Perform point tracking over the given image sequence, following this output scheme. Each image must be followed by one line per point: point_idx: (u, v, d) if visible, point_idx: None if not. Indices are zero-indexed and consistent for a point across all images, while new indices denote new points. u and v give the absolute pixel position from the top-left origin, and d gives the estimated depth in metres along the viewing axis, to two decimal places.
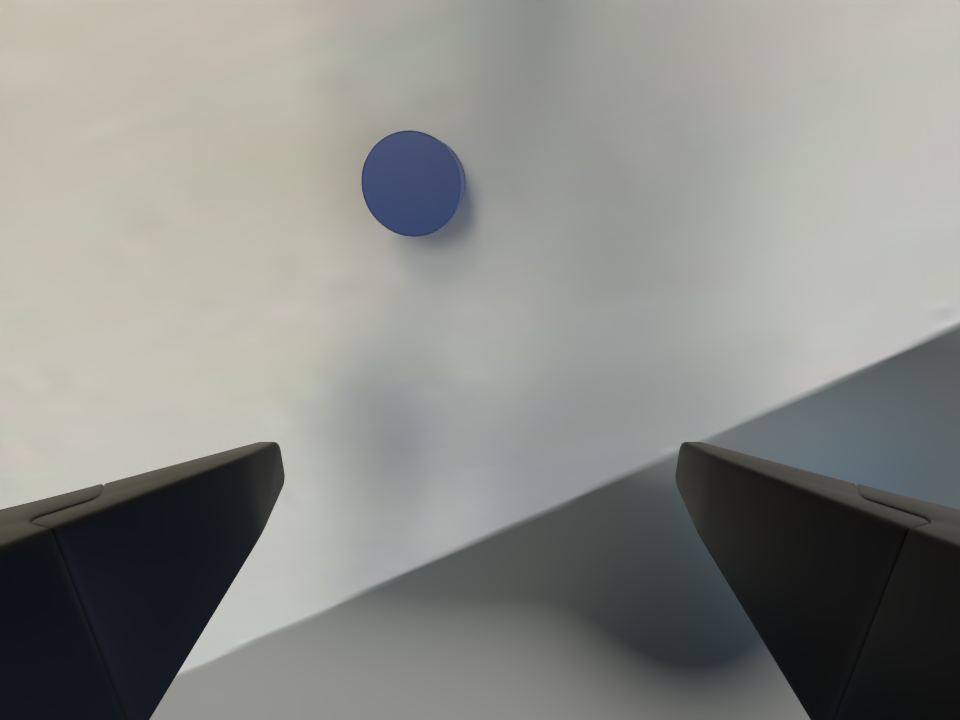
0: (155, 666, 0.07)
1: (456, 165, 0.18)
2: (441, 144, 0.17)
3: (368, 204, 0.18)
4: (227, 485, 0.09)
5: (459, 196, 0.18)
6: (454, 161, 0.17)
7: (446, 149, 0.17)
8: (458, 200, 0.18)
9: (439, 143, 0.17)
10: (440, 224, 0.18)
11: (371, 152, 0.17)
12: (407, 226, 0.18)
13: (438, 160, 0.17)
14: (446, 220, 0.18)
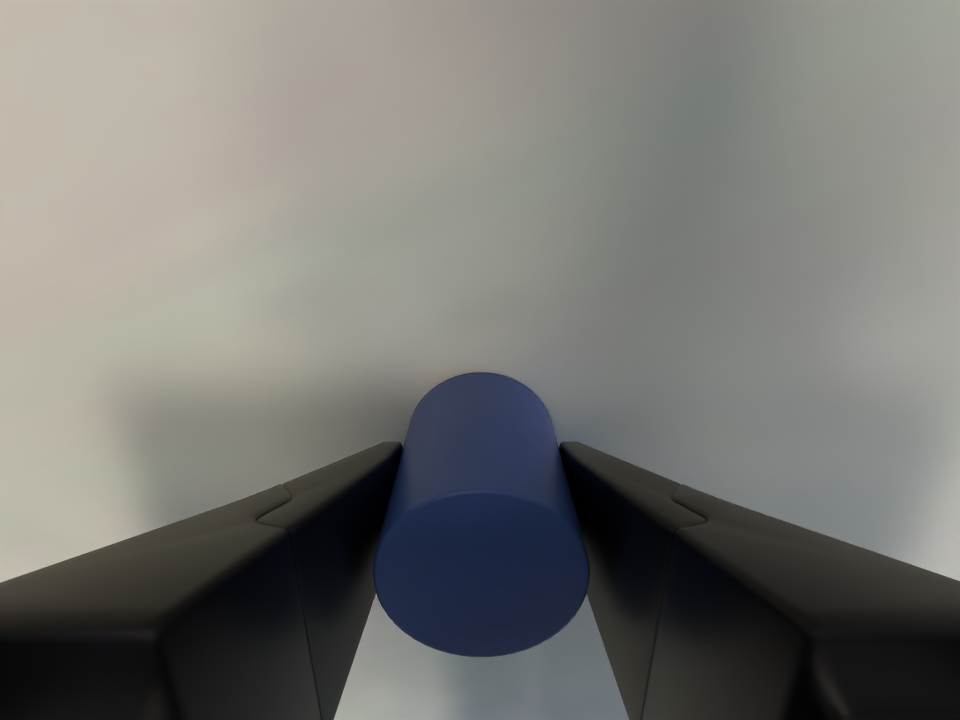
0: (338, 666, 0.08)
1: (578, 537, 0.08)
2: (544, 508, 0.08)
3: (392, 618, 0.08)
4: (379, 485, 0.09)
5: (586, 589, 0.08)
6: (574, 534, 0.08)
7: (555, 514, 0.08)
8: (584, 595, 0.08)
9: (539, 507, 0.08)
10: (546, 635, 0.09)
11: (389, 535, 0.08)
12: (477, 644, 0.09)
13: (538, 535, 0.08)
14: (559, 630, 0.09)
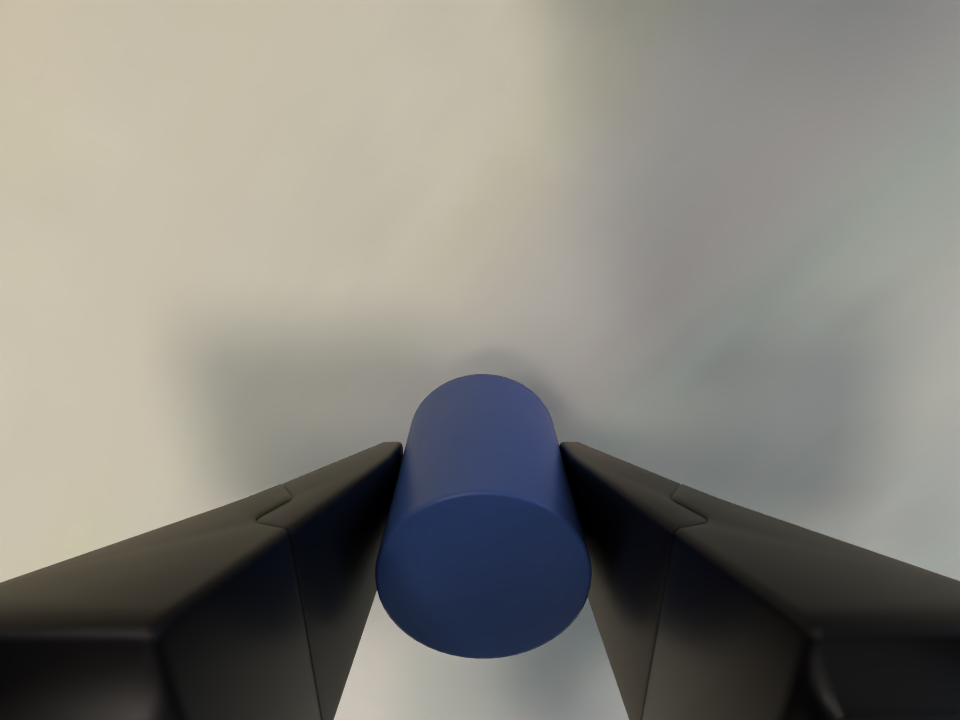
0: (338, 666, 0.08)
1: (579, 539, 0.08)
2: (546, 510, 0.08)
3: (394, 620, 0.08)
4: (379, 485, 0.09)
5: (587, 590, 0.08)
6: (576, 536, 0.08)
7: (557, 516, 0.08)
8: (585, 596, 0.08)
9: (541, 509, 0.08)
10: (548, 636, 0.09)
11: (391, 537, 0.08)
12: (478, 645, 0.09)
13: (540, 537, 0.08)
14: (561, 631, 0.09)
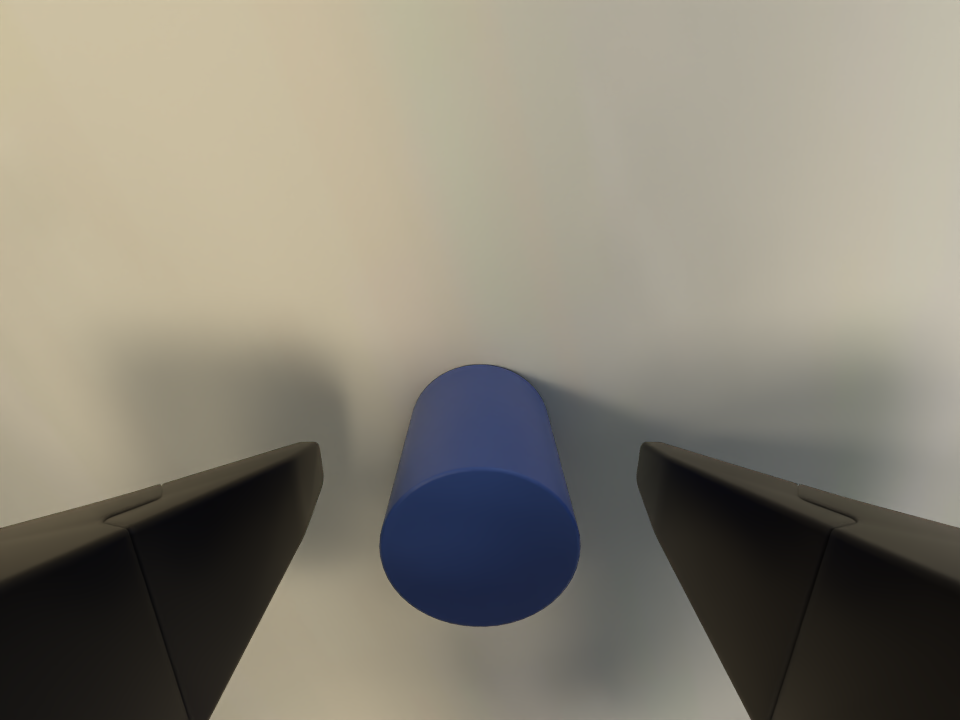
0: (214, 666, 0.07)
1: (569, 513, 0.09)
2: (537, 485, 0.08)
3: (397, 589, 0.09)
4: (276, 485, 0.09)
5: (577, 561, 0.09)
6: (565, 510, 0.08)
7: (547, 491, 0.08)
8: (575, 567, 0.09)
9: (533, 484, 0.08)
10: (540, 605, 0.09)
11: (394, 510, 0.08)
12: (476, 614, 0.09)
13: (532, 510, 0.08)
14: (552, 600, 0.09)
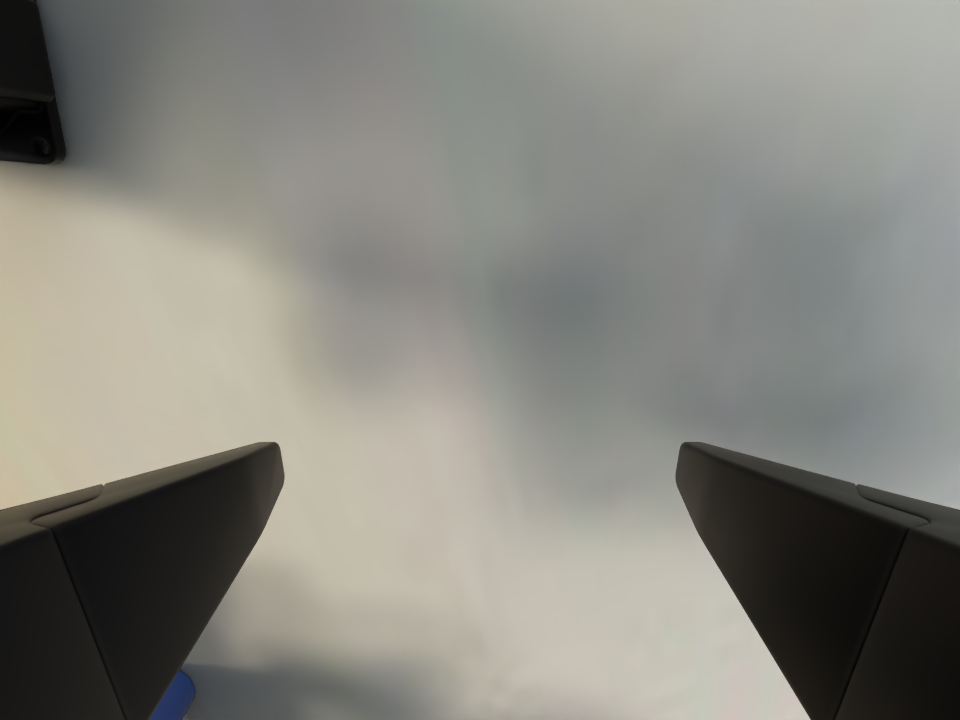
0: (155, 666, 0.08)
1: None
2: None
3: None
4: (227, 485, 0.09)
5: None
6: None
7: None
8: None
9: None
10: None
11: None
12: None
13: None
14: None
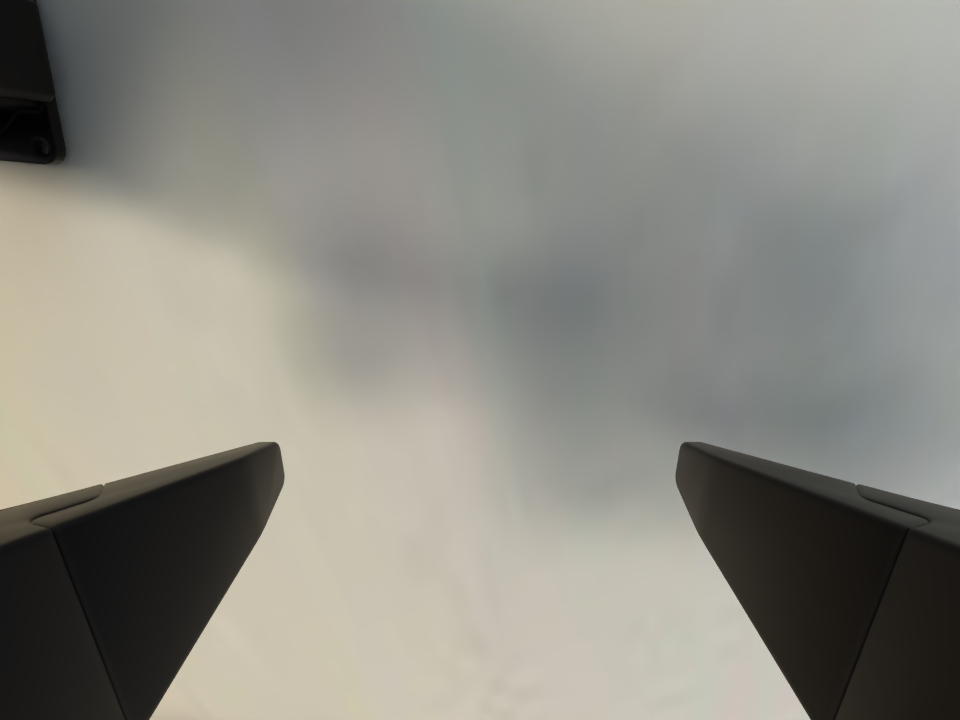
0: (155, 666, 0.08)
1: None
2: None
3: None
4: (227, 485, 0.09)
5: None
6: None
7: None
8: None
9: None
10: None
11: None
12: None
13: None
14: None
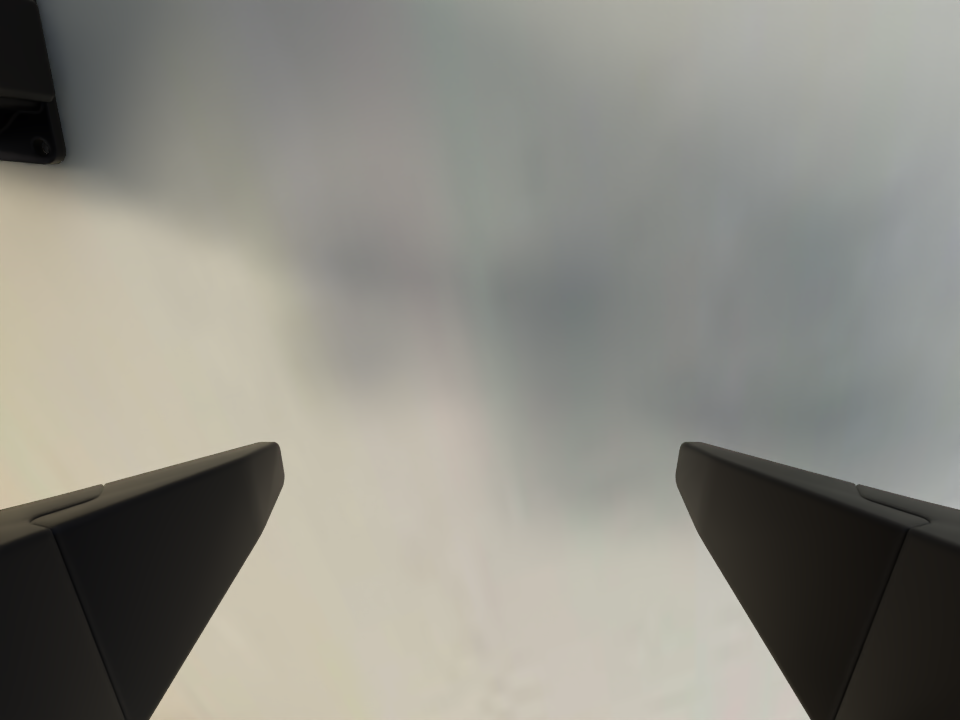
0: (155, 666, 0.08)
1: None
2: None
3: None
4: (227, 485, 0.09)
5: None
6: None
7: None
8: None
9: None
10: None
11: None
12: None
13: None
14: None
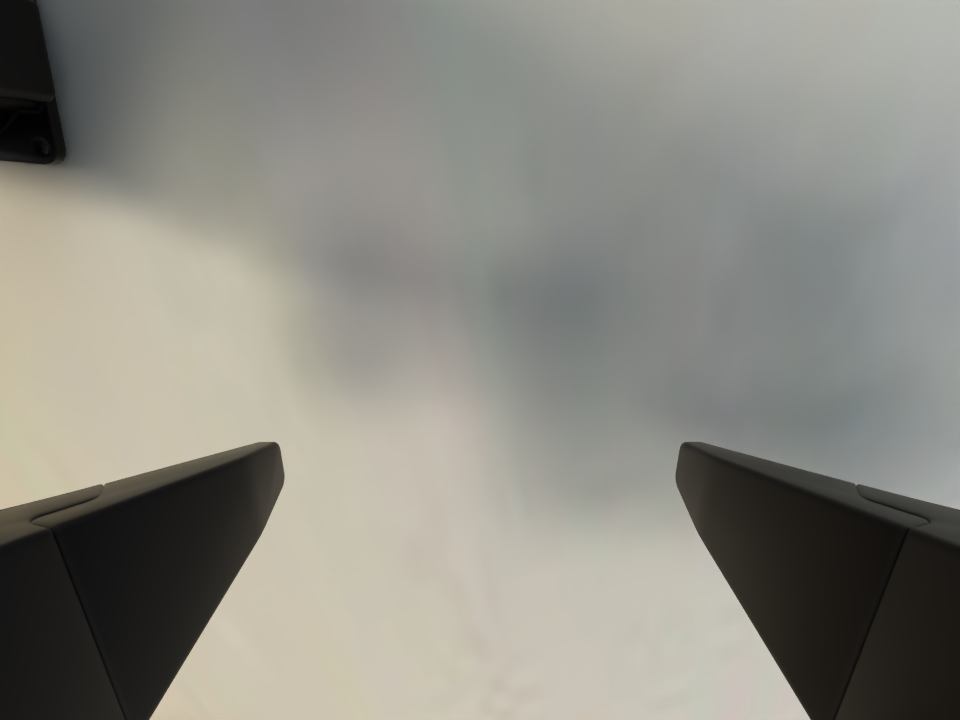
0: (155, 666, 0.08)
1: None
2: None
3: None
4: (227, 485, 0.09)
5: None
6: None
7: None
8: None
9: None
10: None
11: None
12: None
13: None
14: None
